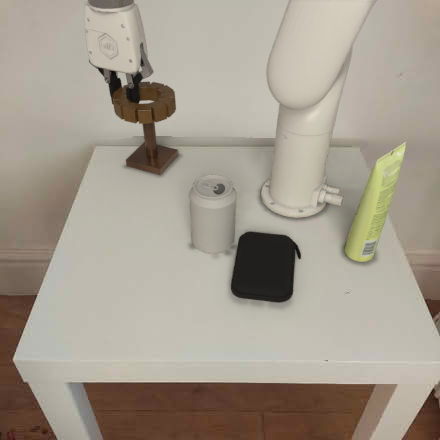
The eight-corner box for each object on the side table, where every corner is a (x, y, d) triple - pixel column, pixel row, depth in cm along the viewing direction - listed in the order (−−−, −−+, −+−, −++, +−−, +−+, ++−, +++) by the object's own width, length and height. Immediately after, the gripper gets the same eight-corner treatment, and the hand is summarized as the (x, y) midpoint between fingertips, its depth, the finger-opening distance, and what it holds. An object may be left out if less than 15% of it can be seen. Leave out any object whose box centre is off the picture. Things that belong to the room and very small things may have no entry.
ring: (185, 101, 89) (185, 88, 87) (157, 129, 82) (156, 115, 80) (134, 90, 92) (132, 77, 90) (103, 115, 85) (100, 102, 83)
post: (178, 155, 97) (174, 103, 89) (160, 175, 92) (154, 122, 84) (145, 147, 99) (139, 95, 91) (126, 166, 94) (117, 113, 86)
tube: (342, 239, 80) (371, 138, 65) (371, 241, 80) (407, 140, 65) (345, 262, 76) (376, 160, 62) (375, 264, 76) (414, 162, 61)
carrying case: (297, 310, 69) (300, 245, 79) (300, 297, 67) (303, 232, 77) (228, 302, 70) (239, 239, 80) (229, 289, 68) (240, 225, 78)
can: (230, 260, 76) (232, 202, 67) (186, 253, 77) (183, 195, 68) (237, 231, 81) (240, 174, 72) (197, 225, 82) (195, 168, 73)
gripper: (55, -6, 74) (79, 103, 88) (142, 9, 70) (153, 121, 84) (81, -18, 79) (101, 87, 93) (165, -5, 75) (172, 104, 89)
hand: (126, 102), depth 88 cm, fingers closed on ring, 3 cm apart
